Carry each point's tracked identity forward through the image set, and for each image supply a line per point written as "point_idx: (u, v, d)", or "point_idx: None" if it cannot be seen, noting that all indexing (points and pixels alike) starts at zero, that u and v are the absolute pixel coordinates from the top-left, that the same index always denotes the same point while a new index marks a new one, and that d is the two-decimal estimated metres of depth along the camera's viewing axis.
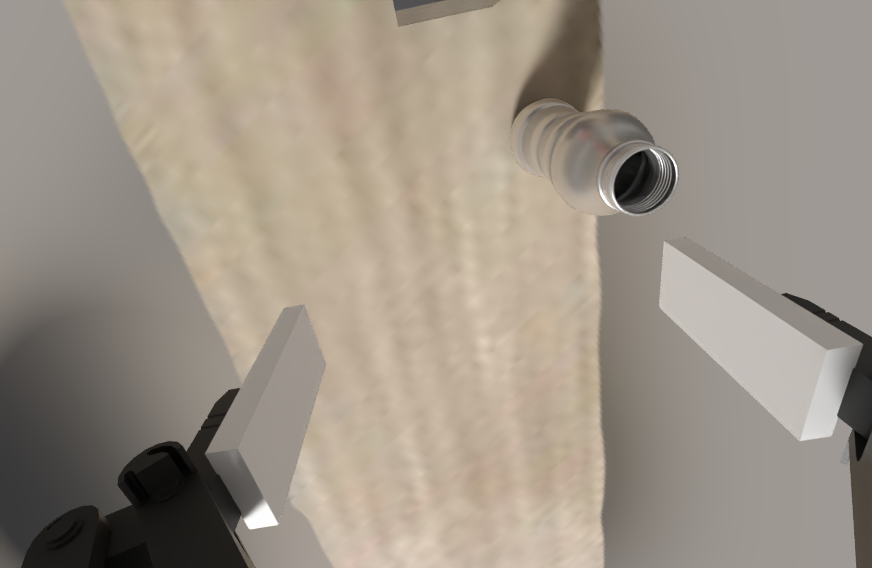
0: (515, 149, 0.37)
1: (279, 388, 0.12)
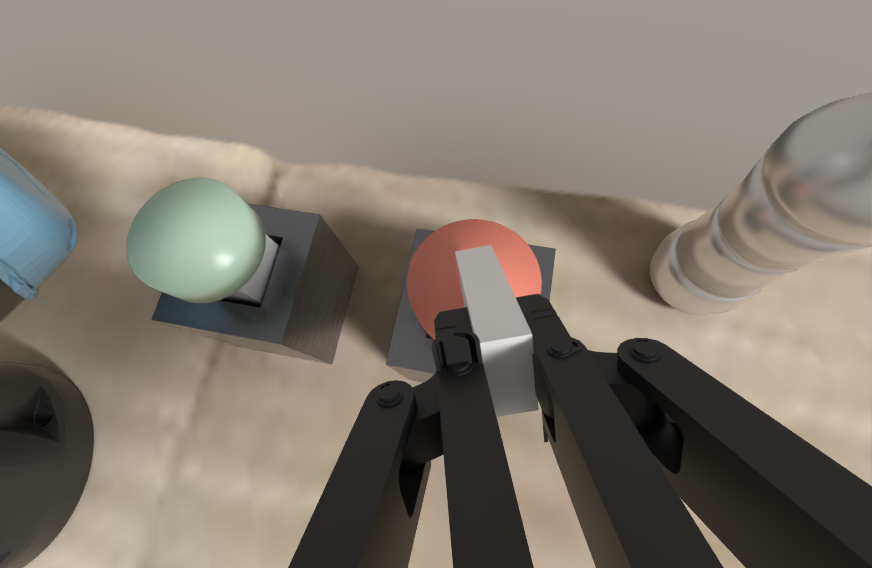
0: (715, 307, 0.27)
1: None
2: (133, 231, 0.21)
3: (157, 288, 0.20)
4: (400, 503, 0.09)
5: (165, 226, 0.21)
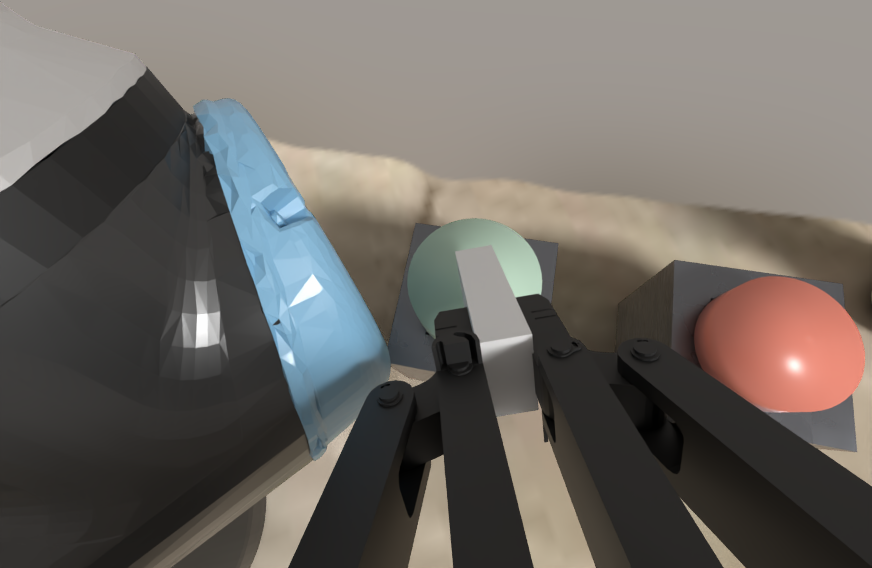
0: None
1: None
2: (412, 277, 0.19)
3: None
4: (400, 503, 0.09)
5: (448, 272, 0.19)
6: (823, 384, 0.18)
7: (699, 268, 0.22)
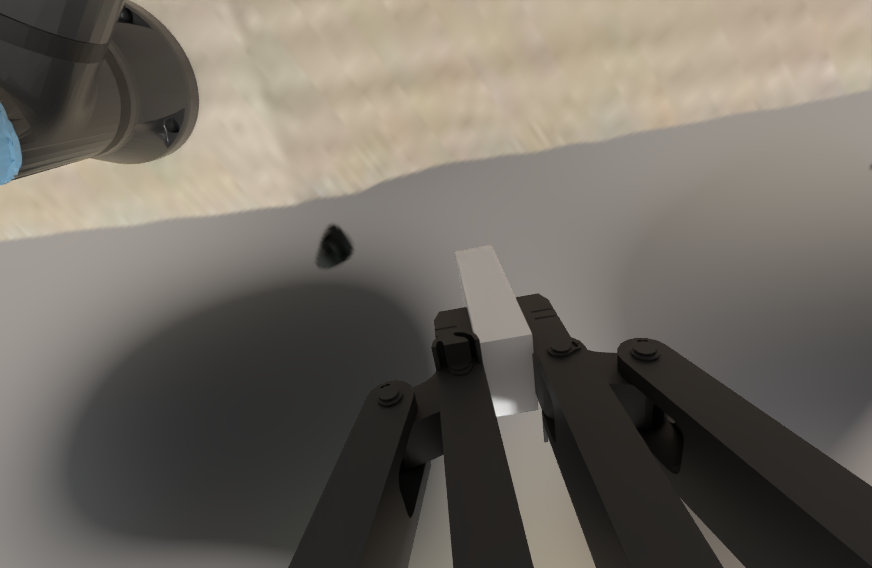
0: None
1: None
2: None
3: None
4: (400, 503, 0.09)
5: None
6: None
7: None
